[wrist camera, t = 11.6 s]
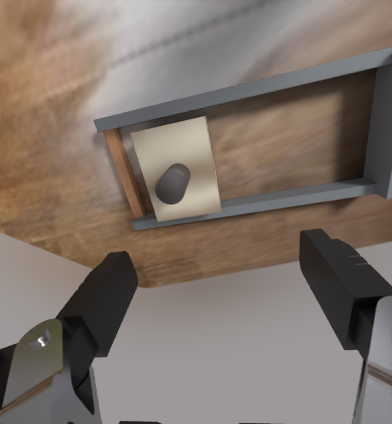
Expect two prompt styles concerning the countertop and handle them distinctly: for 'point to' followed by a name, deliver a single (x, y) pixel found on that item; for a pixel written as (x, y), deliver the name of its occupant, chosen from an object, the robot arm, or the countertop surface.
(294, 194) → the frame
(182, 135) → the beige block
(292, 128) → the countertop surface
